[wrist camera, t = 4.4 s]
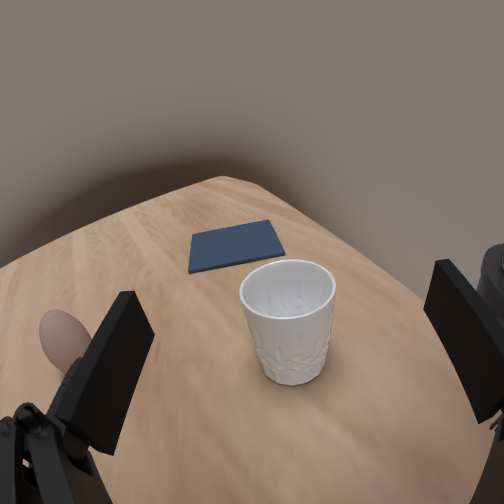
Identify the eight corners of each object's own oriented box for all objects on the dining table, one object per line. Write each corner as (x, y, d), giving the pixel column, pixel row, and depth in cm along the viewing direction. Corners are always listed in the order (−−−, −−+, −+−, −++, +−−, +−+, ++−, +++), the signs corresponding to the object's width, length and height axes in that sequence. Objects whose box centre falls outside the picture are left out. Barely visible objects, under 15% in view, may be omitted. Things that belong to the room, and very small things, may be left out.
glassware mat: (269, 222, 58) (268, 219, 58) (285, 255, 46) (284, 251, 46) (193, 236, 58) (192, 234, 57) (189, 273, 45) (188, 270, 45)
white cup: (260, 397, 24) (242, 327, 19) (252, 340, 31) (237, 267, 26) (340, 381, 24) (350, 306, 19) (319, 327, 31) (319, 253, 26)
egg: (76, 395, 25) (32, 342, 21) (58, 368, 29) (22, 318, 24) (113, 364, 30) (77, 308, 25) (91, 342, 33) (60, 290, 29)
